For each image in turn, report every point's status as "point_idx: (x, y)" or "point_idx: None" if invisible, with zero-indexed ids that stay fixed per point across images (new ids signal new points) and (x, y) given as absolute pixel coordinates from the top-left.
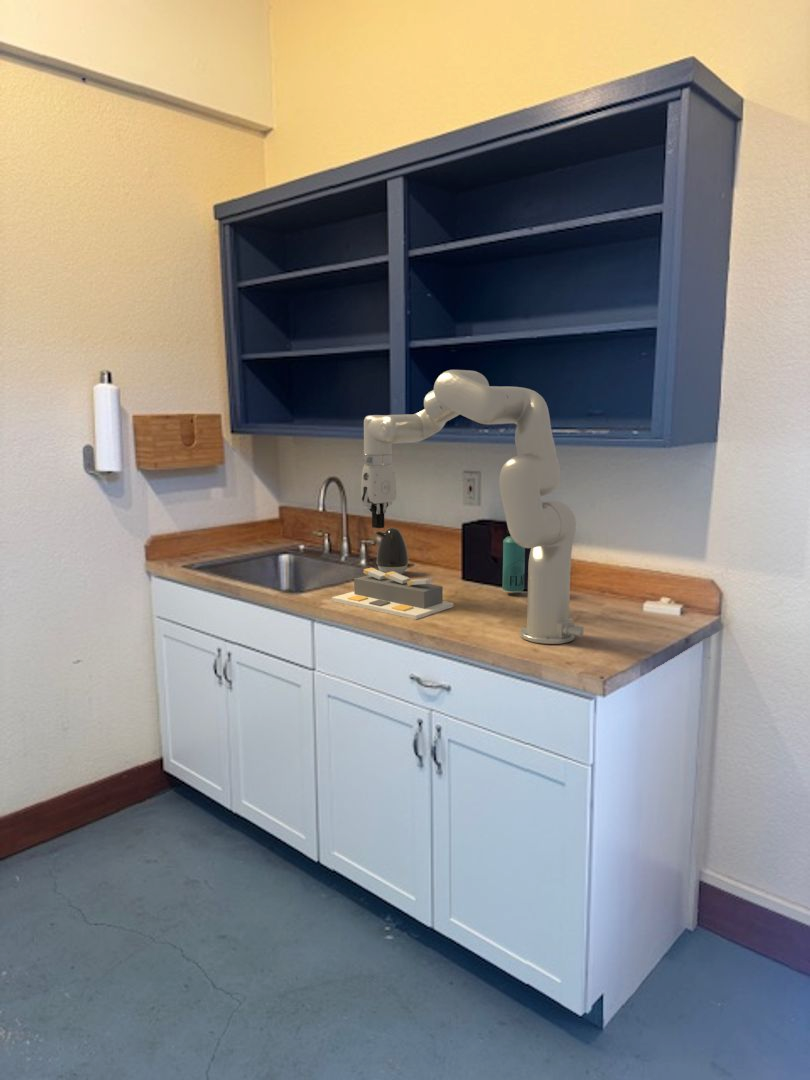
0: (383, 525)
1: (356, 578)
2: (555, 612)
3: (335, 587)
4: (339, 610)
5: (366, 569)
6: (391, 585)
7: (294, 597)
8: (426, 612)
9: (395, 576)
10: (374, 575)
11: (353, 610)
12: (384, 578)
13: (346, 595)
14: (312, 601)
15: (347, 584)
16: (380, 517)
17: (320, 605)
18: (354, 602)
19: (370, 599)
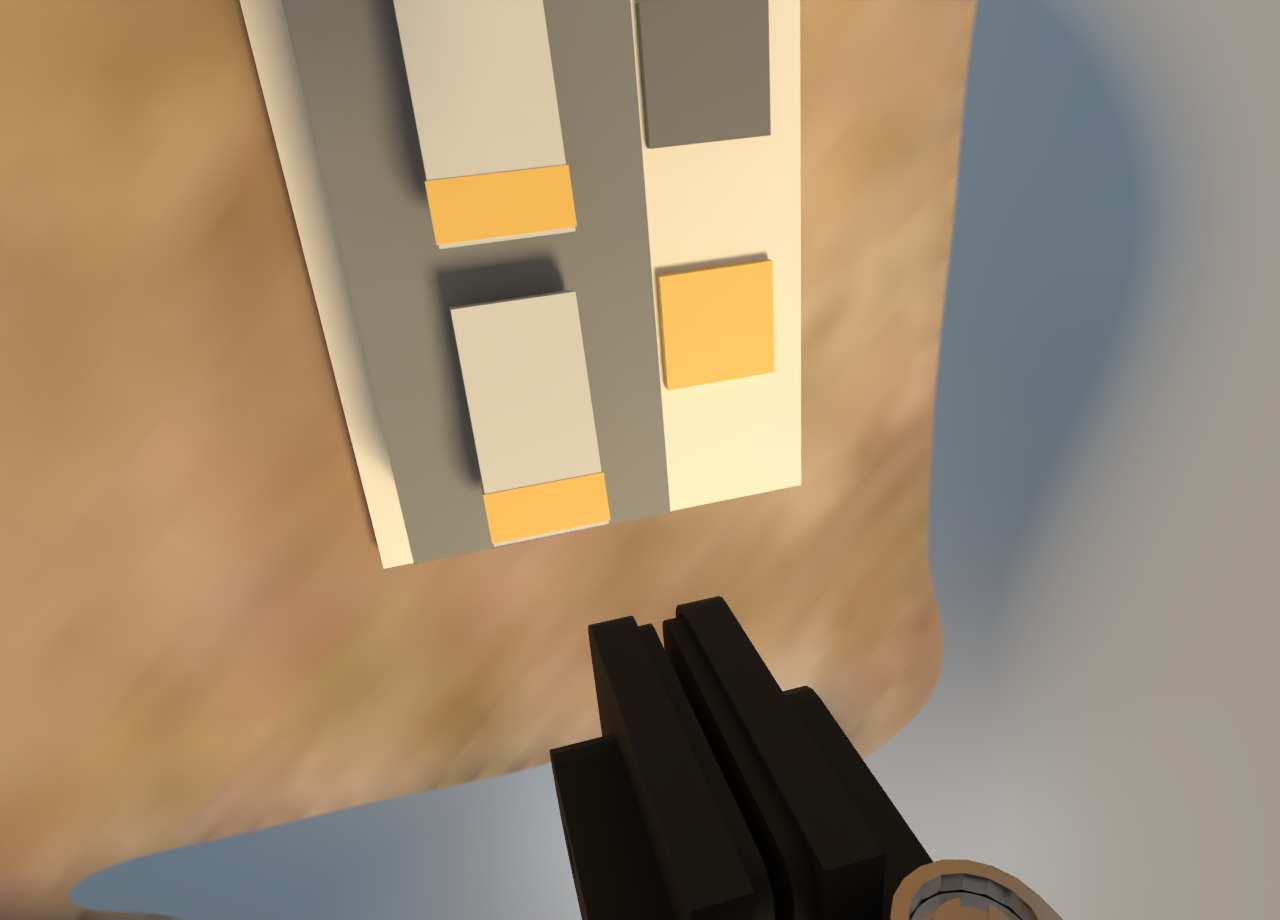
0: (628, 641)
1: (653, 505)
2: None
3: (531, 747)
4: (933, 234)
5: (584, 512)
6: (622, 33)
7: (868, 669)
8: None
9: (528, 82)
10: (585, 371)
11: (879, 159)
12: (500, 300)
13: (701, 463)
14: (871, 536)
15: (411, 776)
16: (827, 770)
17: (911, 425)
18: (799, 262)
19: (660, 243)
